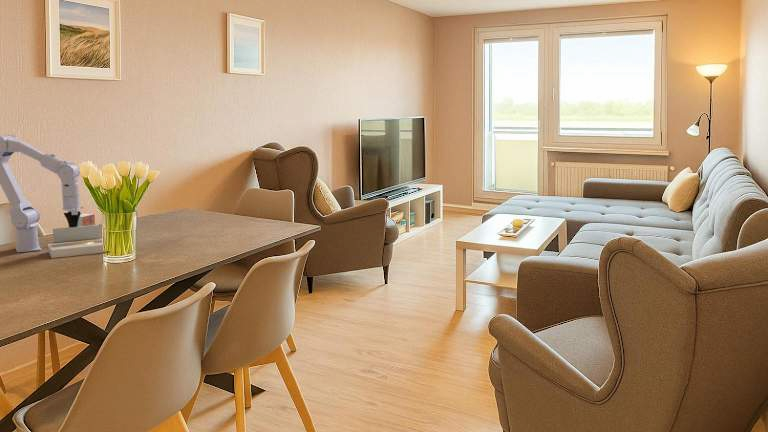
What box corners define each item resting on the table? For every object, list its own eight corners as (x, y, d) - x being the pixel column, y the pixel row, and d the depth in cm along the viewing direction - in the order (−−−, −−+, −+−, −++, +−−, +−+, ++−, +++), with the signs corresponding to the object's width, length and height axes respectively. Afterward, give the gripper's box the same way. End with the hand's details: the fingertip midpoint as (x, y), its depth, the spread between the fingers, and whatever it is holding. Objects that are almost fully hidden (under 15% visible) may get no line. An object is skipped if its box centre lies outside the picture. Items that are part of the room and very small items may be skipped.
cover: (52, 229, 239) (51, 228, 239) (53, 243, 241) (52, 243, 241) (99, 225, 248) (99, 224, 248) (100, 239, 250) (99, 238, 250)
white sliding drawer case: (51, 258, 232) (51, 250, 232) (48, 252, 241) (47, 244, 241) (110, 251, 243) (109, 244, 242) (104, 246, 252) (104, 238, 252)
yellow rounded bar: (67, 242, 241) (68, 249, 242) (69, 246, 239) (69, 253, 240) (93, 240, 246) (93, 246, 247) (94, 243, 244) (95, 250, 245)
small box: (84, 242, 259) (82, 216, 257) (71, 241, 260) (70, 216, 258) (96, 238, 267) (94, 213, 265) (84, 237, 268) (82, 213, 266)
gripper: (85, 197, 238) (88, 232, 240) (79, 192, 250) (81, 226, 252) (64, 198, 234) (67, 234, 236) (59, 193, 246) (62, 228, 248)
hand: (73, 230), depth 244 cm, fingers closed, pressing on cover
